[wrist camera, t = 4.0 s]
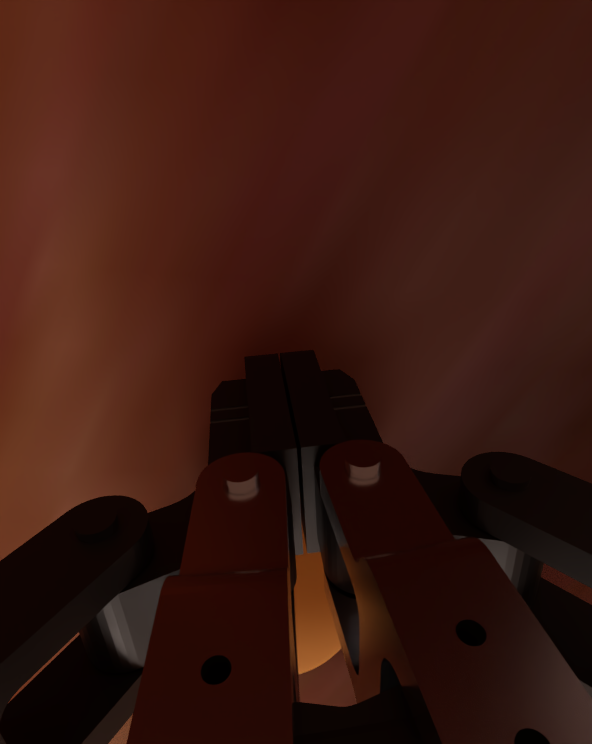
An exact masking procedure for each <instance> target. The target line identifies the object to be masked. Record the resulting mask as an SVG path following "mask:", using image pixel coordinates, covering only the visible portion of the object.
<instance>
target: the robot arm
mask: <svg viewBox="0 0 592 744" xmlns="http://www.w3.org/2000/svg"><path fill="white" fill-rule="evenodd" d="M280 365H281V368H280ZM245 371H246V379H241V380H231V381H222V382H221V384H220V385H219V386H218V387H217V389H216V390H215V391H214V392H213V394H212V398H211V419H210V421H211V424H210V439H209V460H208V466H207V467H206V468H205V469H204V470H203V471H202V472H201V474H200V475H199V477H198V480H197V484H196V489H195V491H194V492H193V493H192V494H191V495H189V496H188V497H186V498H184V499H183V500H181V501H179V502H177V503H174V504H172V505H169V506H167V507H164V508H161V509H158V510H155V511H152V512H150V513H147V510H146V509H145V507H144V506H143V505H142V504H141V503H140V502H139V501H137V500H135V499H133V498H130V497H126V496H115V495H114V496H104V497H99V498H95V499H92V500H89V501H86V502H84V503H81V504H80V505H78V506H76V507H74V508H72V509H71V510H69V511H68V512H66V513H65V514H64V515H62V516H61V517H59V518H58V519H57V520H55V521H54V522H53V523H51V524H50V525H49V526H47V527H46V528H45V529H43V530H42V531H40V532H39V533H38V534H36V535H35V536H34V537H32V538H31V539H30V540H28V541H27V542H26V543H24V544H23V545H21V546H20V547H19V548H17V549H16V550H15V551H13V552H12V553H11V554H9V555H8V556H7V557H5V558H4V559H2V560H1V561H0V744H108V743H109V742H110V741H111V739H112V738H113V737H114V736H115V735H116V733H117V732H118V731H119V730H120V728H121V727H122V726H123V725H124V724H125V722H126V721H127V720H128V719H129V718H130V716H131V715H132V714H133V717H132V721H131V726H130V730H129V735H128V739H127V744H592V605H591V604H589V603H587V602H585V601H583V600H581V599H580V598H578V597H576V596H574V595H572V594H571V593H569V592H567V591H565V590H563V589H561V588H560V587H558V586H556V585H554V584H552V583H550V582H549V581H547V580H545V579H543V578H541V573H542V569H543V564H544V563H545V564H547V565H549V566H551V567H553V568H554V569H556V570H558V571H560V572H562V573H564V574H566V575H568V576H570V577H572V578H573V579H575V580H577V581H579V582H581V583H583V584H585V585H587V586H589V587H590V588H592V484H591V483H589V482H586V481H584V480H581V479H579V478H576V477H574V476H571V475H569V474H567V473H564V472H562V471H559V470H557V469H554V468H552V467H549V466H547V465H545V464H542V463H540V462H537V461H535V460H532V459H530V458H527V457H524V456H521V455H517V454H513V453H506V452H489V453H483V454H479V455H476V456H474V457H472V458H471V459H469V460H468V461H467V462H466V463H465V464H464V466H463V468H462V472H461V476H452V475H442V474H433V473H426V472H422V471H418V470H415V469H412V468H410V467H409V465H408V463H407V462H406V460H405V459H404V457H403V456H402V455H401V454H400V453H399V452H398V451H397V450H396V449H394V448H393V447H391V446H389V445H387V444H384V443H383V442H382V439H381V437H380V435H379V433H378V431H377V428H376V426H375V424H374V422H373V420H372V418H371V415H370V413H369V411H368V409H367V407H366V406H365V402H364V400H363V398H362V396H361V395H360V391H359V389H358V387H357V385H356V382H355V380H354V379H353V378H351V377H350V376H348V375H347V374H346V373H344V372H343V371H341V370H340V369H338V370H328V371H321V370H320V367H319V364H318V362H317V359H316V356H315V353H314V351H313V350H308V351H298V352H288V353H280V363H279V358H278V354H268V355H258V356H248V357H245ZM301 522H302V523H301ZM302 527H303V533H304V538H305V544H306V550H307V554H308V553H316V552H321V557H322V562H323V568H324V589H325V593H326V597H327V600H328V604H329V607H330V610H331V614H332V617H333V621H334V624H335V627H336V631H337V634H338V638H339V641H340V645H341V648H342V651H343V655H344V658H345V662H346V665H347V668H348V672H349V675H350V679H351V682H352V685H353V689H354V693H355V698H356V703H357V704H355V705H352V706H348V707H336V706H327V705H319V704H310V703H302V702H300V697H299V677H298V656H297V635H296V614H295V594H294V586H295V584H296V579H297V570H296V557H295V555H302V554H303V538H302ZM78 632H79V634H80V635H79V636H78V637H77V638H76V639H74V640H73V641H72V642H71V643H70V644H69V645H68V646H67V647H66V648H65V649H64V650H63V651H62V652H61V653H60V654H59V655H58V656H57V657H56V658H55V659H54V660H53V661H52V662H51V663H50V664H49V665H47V666H46V667H45V668H44V669H43V670H42V671H41V672H40V673H39V674H38V675H37V676H36V677H35V678H34V679H33V680H32V681H31V682H30V683H29V684H28V685H27V686H26V687H25V688H24V689H23V690H22V691H20V692H19V693H18V694H17V695H16V696H15V697H14V698H13V699H12V700H11V701H10V699H11V698H12V697H13V695H14V694H15V693H16V692H17V691H18V690H19V688H20V687H21V686H22V685H23V684H25V683H26V682H27V681H28V680H29V679H30V678H31V677H32V676H33V675H34V674H35V673H36V672H37V671H38V670H39V669H40V668H41V667H42V666H43V665H44V664H45V663H47V662H48V661H49V660H50V659H51V658H52V657H53V656H54V655H55V654H56V653H57V652H58V651H59V650H60V649H61V648H62V647H63V646H64V645H65V644H66V643H67V642H68V641H70V640H71V639H72V638H73V637H74V636H75V635H76V634H77V633H78ZM9 701H10V702H9ZM8 702H9V703H8Z"/></svg>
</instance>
